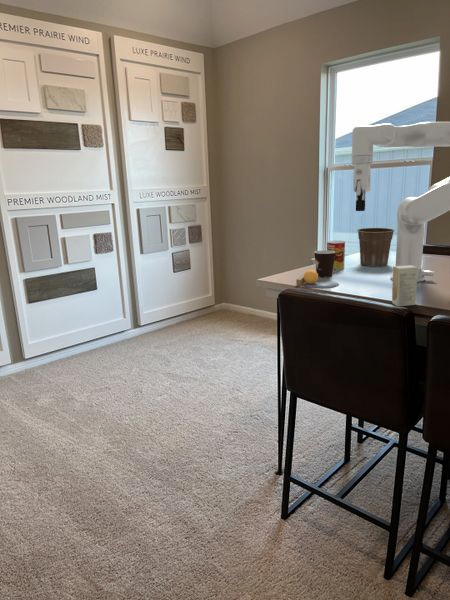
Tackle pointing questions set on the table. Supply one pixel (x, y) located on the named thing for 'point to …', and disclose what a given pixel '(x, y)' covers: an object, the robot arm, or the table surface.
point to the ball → (310, 276)
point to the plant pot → (374, 246)
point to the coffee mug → (324, 263)
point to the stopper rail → (300, 281)
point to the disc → (323, 284)
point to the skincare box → (404, 285)
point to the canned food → (337, 253)
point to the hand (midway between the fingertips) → (360, 210)
